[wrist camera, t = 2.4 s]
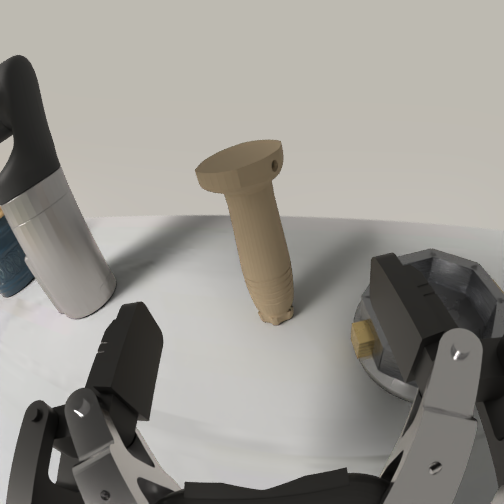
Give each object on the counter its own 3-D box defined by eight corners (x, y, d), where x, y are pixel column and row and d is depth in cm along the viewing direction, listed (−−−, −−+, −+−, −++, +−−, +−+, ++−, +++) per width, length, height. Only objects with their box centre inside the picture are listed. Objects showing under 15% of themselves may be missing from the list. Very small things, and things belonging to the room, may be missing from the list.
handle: (315, 296, 27) (294, 138, 19) (283, 347, 23) (242, 173, 15) (271, 285, 30) (238, 141, 21) (237, 330, 26) (180, 173, 17)
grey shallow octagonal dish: (377, 432, 15) (387, 414, 13) (332, 292, 27) (331, 263, 25) (525, 361, 14) (544, 335, 12) (455, 261, 26) (461, 234, 24)
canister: (29, 290, 40) (-18, 209, 31) (-7, 304, 40) (-49, 234, 30) (51, 253, 51) (16, 182, 41) (16, 268, 51) (-18, 205, 41)
